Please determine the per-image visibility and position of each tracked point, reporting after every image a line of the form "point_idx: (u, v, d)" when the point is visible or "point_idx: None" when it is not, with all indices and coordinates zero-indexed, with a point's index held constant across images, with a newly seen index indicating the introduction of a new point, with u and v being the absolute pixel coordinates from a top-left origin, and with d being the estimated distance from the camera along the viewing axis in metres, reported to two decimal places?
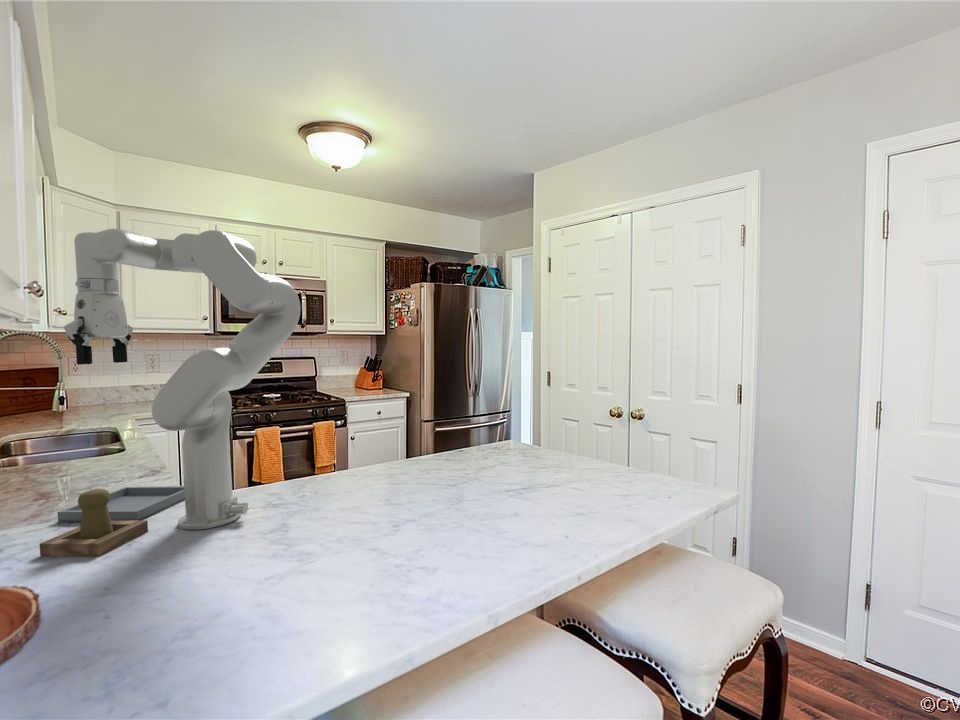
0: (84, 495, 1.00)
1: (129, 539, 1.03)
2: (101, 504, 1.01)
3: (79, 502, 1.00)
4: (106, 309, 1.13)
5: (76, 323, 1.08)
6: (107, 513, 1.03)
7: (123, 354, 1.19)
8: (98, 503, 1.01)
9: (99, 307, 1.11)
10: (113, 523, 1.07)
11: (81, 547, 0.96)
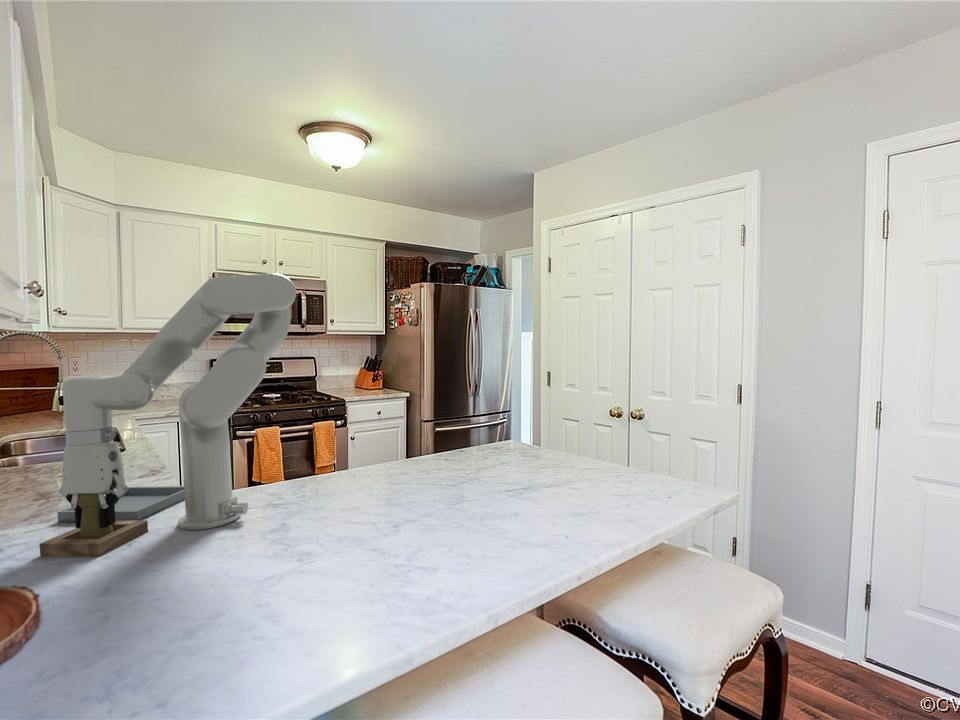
0: (84, 495, 1.00)
1: (129, 539, 1.03)
2: None
3: (79, 502, 1.00)
4: None
5: None
6: None
7: None
8: (99, 503, 1.01)
9: None
10: None
11: (81, 547, 0.96)
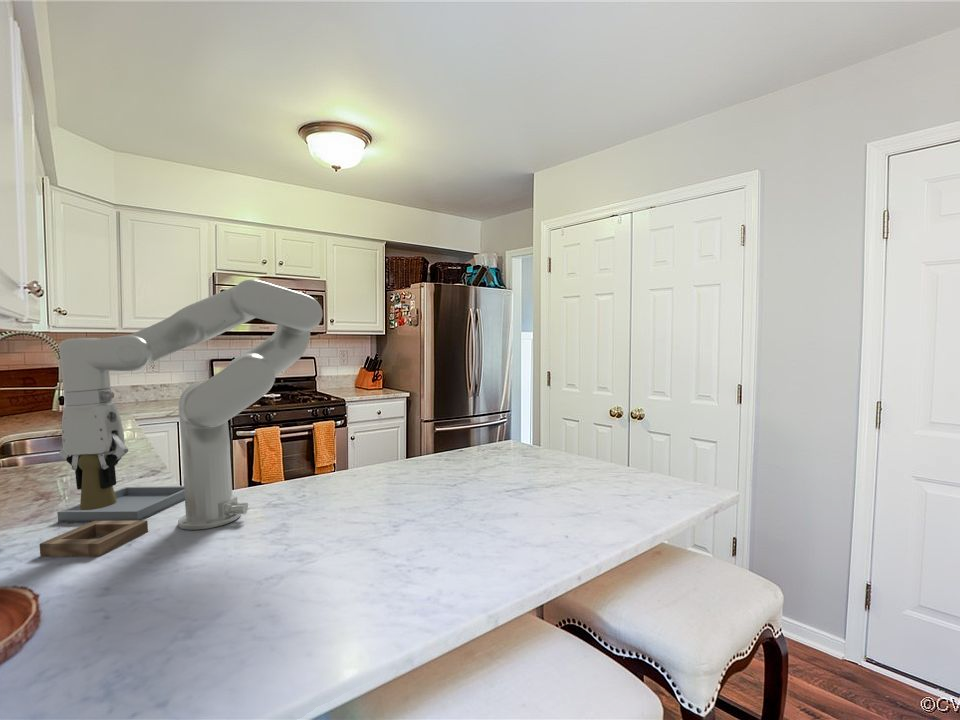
0: (84, 456, 1.00)
1: (129, 539, 1.03)
2: None
3: (79, 463, 1.00)
4: None
5: None
6: None
7: None
8: (99, 464, 1.01)
9: None
10: (113, 523, 1.07)
11: (81, 547, 0.96)
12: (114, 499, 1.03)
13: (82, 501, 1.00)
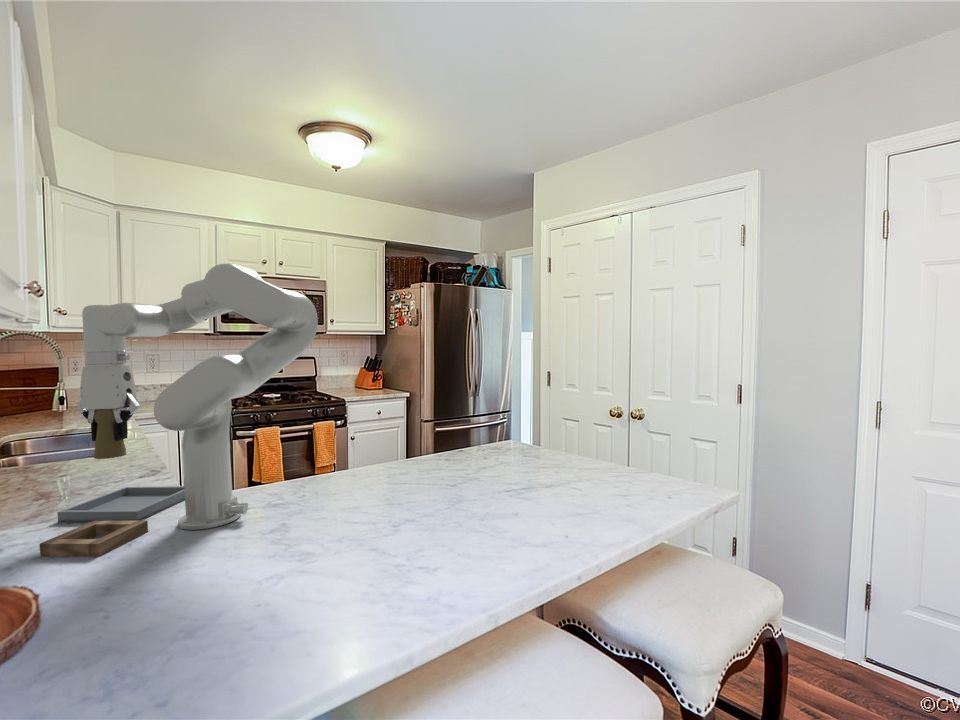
0: (100, 410, 1.12)
1: (129, 539, 1.03)
2: (115, 419, 1.13)
3: (95, 416, 1.11)
4: None
5: None
6: None
7: None
8: (113, 418, 1.12)
9: None
10: (113, 523, 1.07)
11: (81, 547, 0.96)
12: (125, 451, 1.15)
13: (96, 451, 1.11)
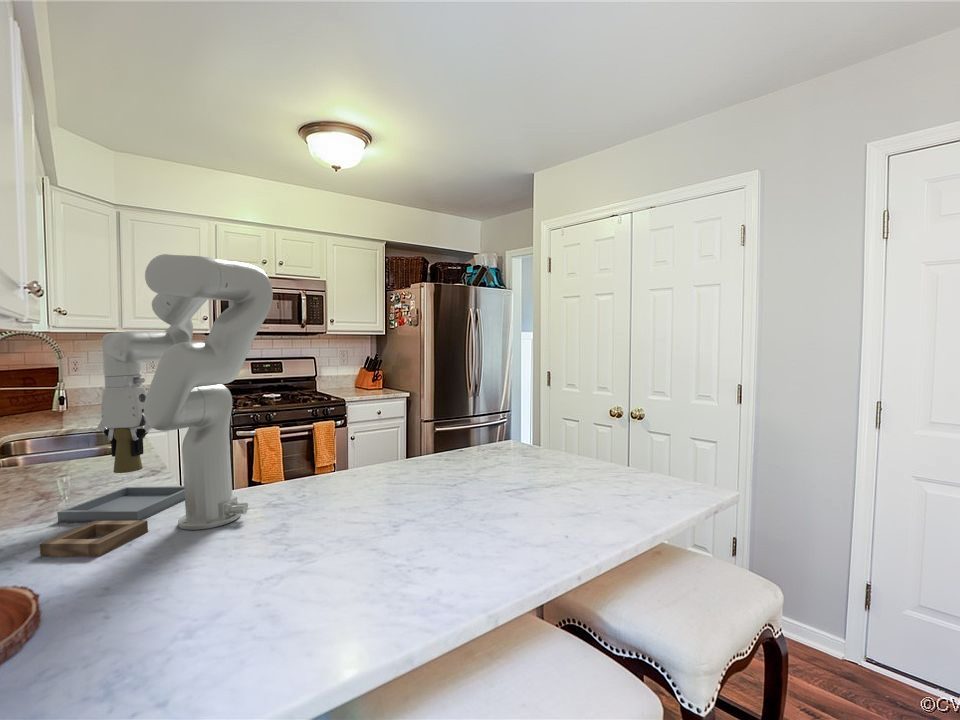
0: (119, 429, 1.23)
1: (129, 539, 1.03)
2: None
3: (114, 434, 1.22)
4: None
5: None
6: None
7: None
8: (130, 436, 1.23)
9: None
10: (113, 523, 1.07)
11: (81, 547, 0.96)
12: (141, 466, 1.26)
13: (115, 466, 1.23)
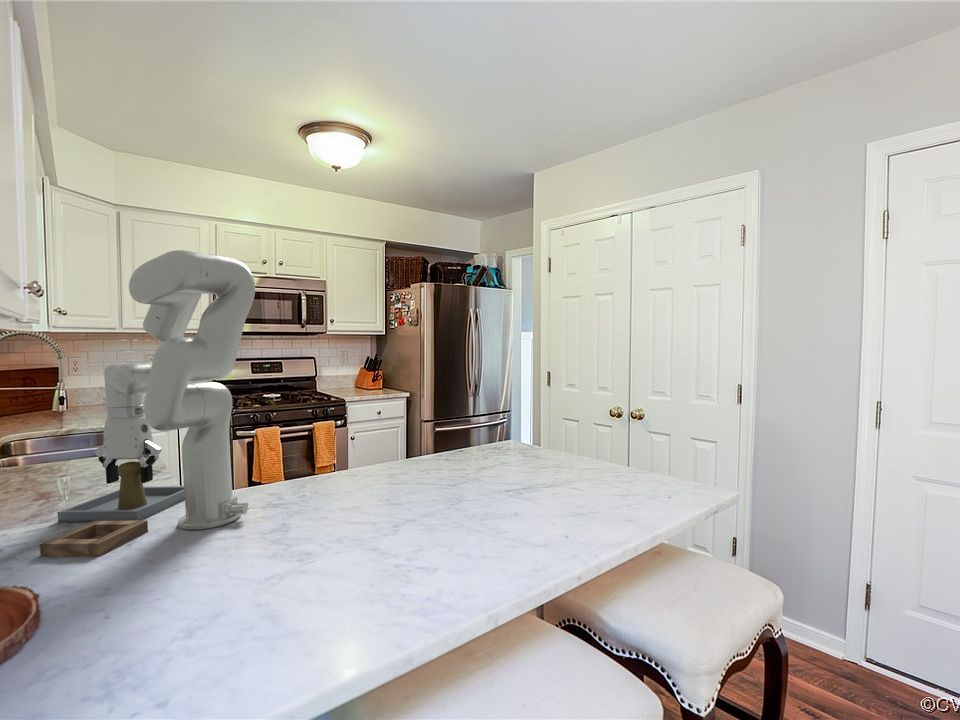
0: (122, 465, 1.23)
1: (129, 539, 1.03)
2: (136, 473, 1.24)
3: (118, 471, 1.23)
4: None
5: None
6: (140, 481, 1.25)
7: (117, 473, 1.27)
8: (134, 472, 1.23)
9: None
10: (113, 523, 1.07)
11: (81, 547, 0.96)
12: (145, 501, 1.26)
13: (120, 502, 1.23)
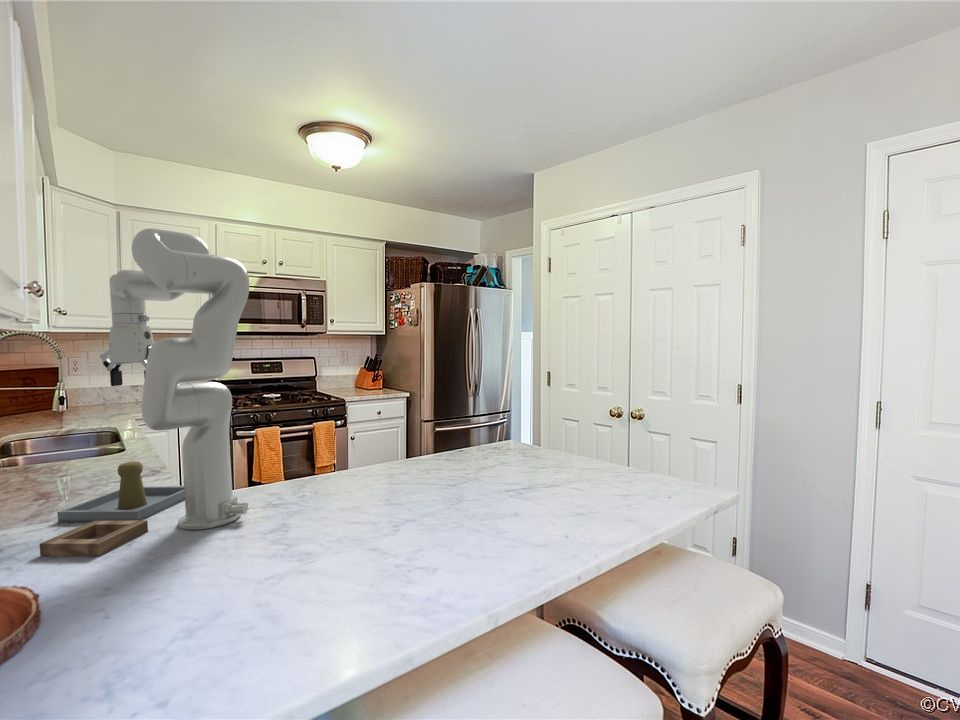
0: (122, 465, 1.23)
1: (129, 539, 1.03)
2: (136, 473, 1.24)
3: (118, 471, 1.23)
4: None
5: None
6: (140, 481, 1.25)
7: (121, 378, 1.35)
8: (134, 472, 1.23)
9: None
10: (113, 523, 1.07)
11: (81, 547, 0.96)
12: (145, 501, 1.26)
13: (120, 502, 1.23)
